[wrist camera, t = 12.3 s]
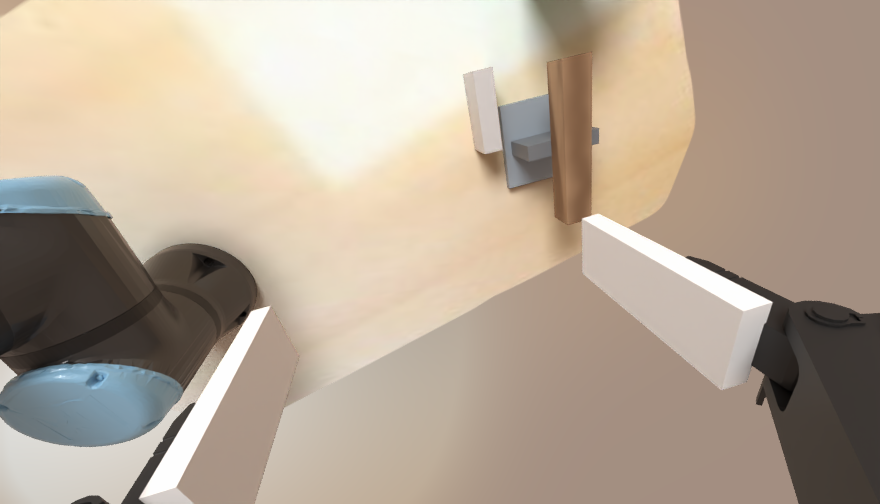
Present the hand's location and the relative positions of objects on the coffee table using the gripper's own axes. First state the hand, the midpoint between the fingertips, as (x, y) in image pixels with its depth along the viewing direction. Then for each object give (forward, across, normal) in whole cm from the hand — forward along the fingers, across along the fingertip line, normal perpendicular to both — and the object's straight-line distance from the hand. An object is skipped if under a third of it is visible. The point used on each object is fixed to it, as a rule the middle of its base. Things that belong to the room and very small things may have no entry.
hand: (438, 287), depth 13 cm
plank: (+30, +22, -3) cm, 37 cm away
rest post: (+37, +13, +3) cm, 39 cm away
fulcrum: (+37, +22, -3) cm, 43 cm away
